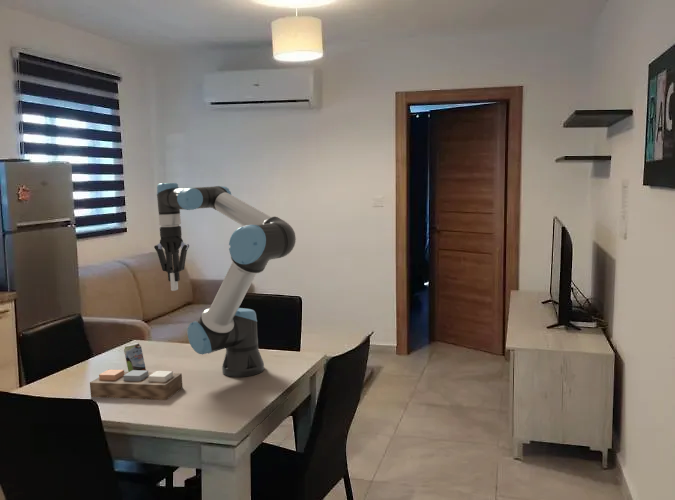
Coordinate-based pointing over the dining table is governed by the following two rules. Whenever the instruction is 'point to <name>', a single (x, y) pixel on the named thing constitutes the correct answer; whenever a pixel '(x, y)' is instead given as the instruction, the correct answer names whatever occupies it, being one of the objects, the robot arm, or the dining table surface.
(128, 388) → the console
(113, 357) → the dining table surface
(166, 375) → the offwhite key
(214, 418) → the dining table surface
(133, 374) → the slate key
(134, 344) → the beverage can
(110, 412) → the dining table surface
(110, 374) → the terracotta key
